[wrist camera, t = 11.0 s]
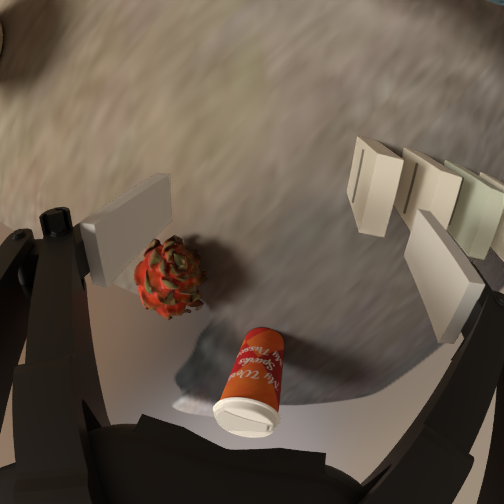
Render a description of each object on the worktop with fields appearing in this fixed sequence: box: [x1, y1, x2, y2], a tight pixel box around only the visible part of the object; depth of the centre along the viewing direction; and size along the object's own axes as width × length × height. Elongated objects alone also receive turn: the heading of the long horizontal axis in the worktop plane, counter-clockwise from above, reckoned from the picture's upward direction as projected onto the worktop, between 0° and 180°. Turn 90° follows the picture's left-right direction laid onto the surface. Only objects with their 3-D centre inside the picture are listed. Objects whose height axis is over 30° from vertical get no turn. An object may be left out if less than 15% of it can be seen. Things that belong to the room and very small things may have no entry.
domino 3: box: [444, 160, 504, 260], centre depth 23 cm, size 6×2×10 cm, turn 175°
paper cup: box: [213, 327, 284, 438], centre depth 36 cm, size 8×8×14 cm
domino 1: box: [347, 136, 404, 237], centre depth 24 cm, size 6×2×10 cm, turn 175°
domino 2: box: [393, 147, 462, 231], centre depth 24 cm, size 6×2×10 cm, turn 174°
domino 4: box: [479, 172, 504, 262], centre depth 23 cm, size 6×2×10 cm, turn 175°
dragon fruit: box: [134, 235, 208, 320], centre depth 36 cm, size 8×8×12 cm
